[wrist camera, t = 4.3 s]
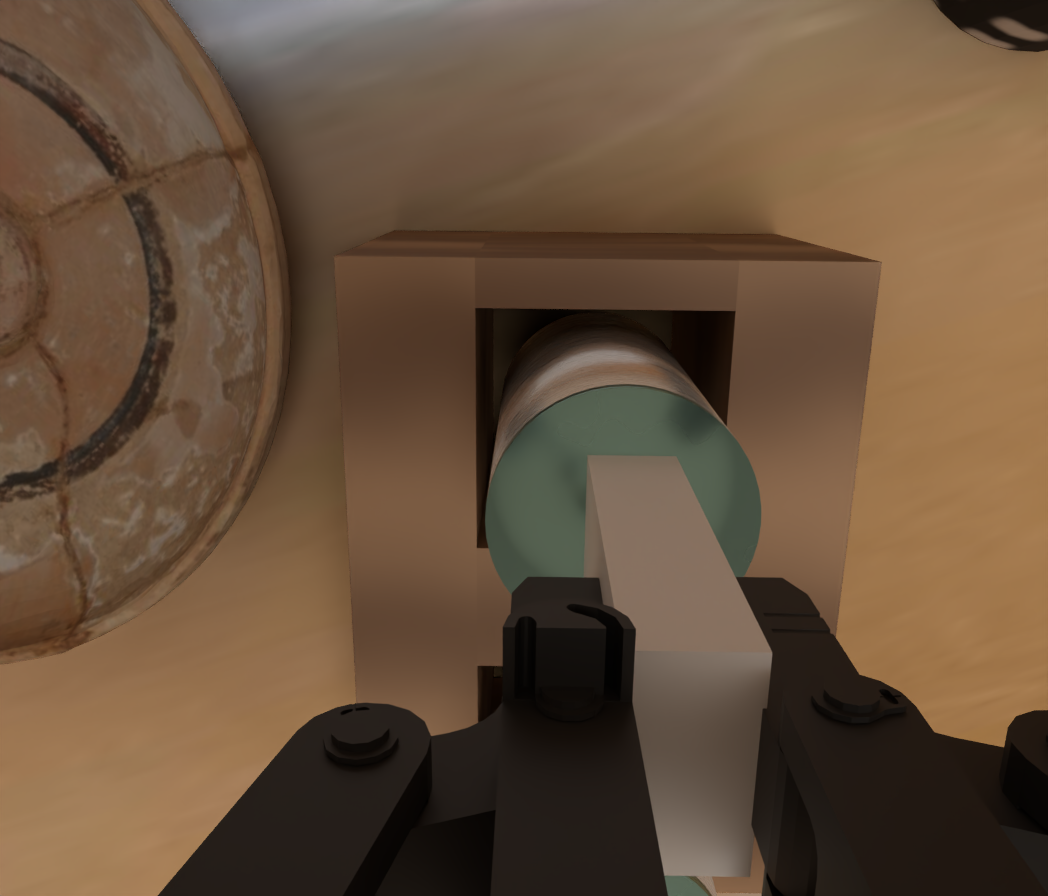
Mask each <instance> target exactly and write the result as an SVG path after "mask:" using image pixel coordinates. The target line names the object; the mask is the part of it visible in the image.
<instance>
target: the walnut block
mask: <svg viewBox="0 0 1048 896" xmlns="http://www.w3.org/2000/svg"><path fill="white" fill-rule="evenodd" d="M881 263H882V262H879V261H875V260H871V259H868V258H864V257H860V256H856V255H852V254H849V253H845V252H841V251H837V250H833V249H830V248H826V247H822V246H818V245H814V244H811V243H807V242H803V241H799V240H796V239H792V238H788V237H784V236H780V235H773V234H678V233H583V232H488V231H392V232H390V233H387V234H385V235H383V236H380V237H378V238H376V239H373V240H371V241H369V242H366V243H364V244H362V245H359V246H357V247H355V248H352V249H350V250H348V251H345V252H343V253H340V254H338V255H336V256H334V269H335V288H336V308H337V328H338V347H339V367H340V387H341V407H342V426H343V446H344V466H345V485H346V505H347V525H348V544H349V564H350V584H351V604H352V623H353V643H354V663H355V682H356V702H357V703H381V704H390V705H394V706H397V707H401V708H404V709H407V710H410V711H411V712H413V713H414V714H415V715H417V716H418V717H420V718H421V719H422V720H424V721H425V723H426V725H427V728H428V730H429V732H430V735H431V736H435V735H440V734H445V733H450V732H453V731H457V730H461V729H465V728H468V727H470V726H472V725H474V724H476V723H479V722H481V721H483V720H484V719H486V718H487V717H488V716H490V715H491V714H492V713H494V712H495V711H496V710H497V708H498V707H499V706H500V704H501V700H502V679H503V678H493V666H503V625H504V623H505V621H506V619H507V617H508V615H510V614H511V598H512V595H511V594H510V592H509V591H508V590H507V588H506V587H505V585H504V584H503V582H502V580H501V579H500V577H499V575H498V573H497V571H496V569H495V566H494V564H493V561H492V558H491V556H490V552H489V548H488V543H487V538H486V526H485V514H486V502H487V495H488V488H489V481H490V474H491V467H492V461H493V454H494V447H495V442H493V308H518V309H608V310H673V324H672V341H671V353H672V355H673V356H674V357H675V359H676V360H677V361H678V363H679V364H680V365H681V367H682V368H683V369H684V371H685V372H686V373H687V375H688V376H689V377H690V379H691V380H692V381H693V383H694V384H695V385H696V387H697V388H698V389H699V391H700V392H701V393H702V395H703V396H704V397H705V399H706V400H707V401H708V403H709V404H710V405H711V407H712V408H713V409H714V411H715V412H716V413H717V415H718V416H719V417H720V419H721V420H722V421H723V423H724V424H725V425H726V427H727V428H728V429H729V431H730V432H731V433H732V435H733V436H734V437H735V439H736V440H737V441H738V443H739V444H740V446H741V447H742V449H743V451H744V452H745V454H746V456H747V457H748V459H749V461H750V464H751V466H752V468H753V471H754V473H755V476H756V480H757V483H758V487H759V491H760V500H761V528H760V534H759V540H758V544H757V547H756V550H755V554H754V557H753V559H752V561H751V563H750V566H749V568H748V570H747V572H746V574H745V575H744V577H776V578H784V579H785V580H787V581H788V582H790V583H791V584H793V585H794V586H796V587H797V588H799V589H800V590H802V591H803V592H805V593H806V594H808V595H809V597H810V599H811V600H812V602H813V603H814V605H815V606H816V608H817V610H818V611H819V613H820V618H823V619H824V620H825V622H826V624H827V625H828V627H829V628H830V633H831V634H834V636H835V638H836V630H837V622H838V614H839V606H840V597H841V589H842V581H843V573H844V565H845V557H846V548H847V540H848V532H849V524H850V516H851V508H852V500H853V491H854V483H855V475H856V467H857V459H858V451H859V442H860V434H861V426H862V418H863V410H864V402H865V394H866V385H867V377H868V369H869V361H870V353H871V345H872V337H873V328H874V320H875V312H876V304H877V296H878V288H879V279H880V271H881ZM764 868H765V865H764V862H763V859H762V856H761V853H760V850H759V847H758V844H757V841H756V838H755V835H754V843H753V853H752V863H751V873H750V877H723V876H712V879H713V882H714V886H715V890H716V893H762V887H763V877H764Z"/></svg>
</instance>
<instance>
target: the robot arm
mask: <svg viewBox="0 0 1048 896" xmlns="http://www.w3.org/2000/svg"><path fill="white" fill-rule="evenodd" d="M754 835H755V838H756V841H757V844H758V847H759V850H760V853H761V856H762V859H763V862H764V865H765V868H764V877H763V887H762V896H1048V710H1036V711H1031V712H1028V713H1025V714H1022V715H1019V716H1016V717H1015V719H1014V720H1013V721H1012V723H1011V724H1010V725H1009V727H1008V731H1007V736H1006V741H1005V746H1004V747H999V746H994V745H989V744H984V743H979V742H974V741H969V740H964V739H959V738H954V737H950V736H946V735H942V734H938V733H935V732H934V731H933V730H932V729H931V727H930V726H929V724H928V723H927V721H926V720H925V719H924V717H923V716H922V714H921V713H920V712H919V710H918V709H917V707H916V706H915V705H914V704H913V703H912V702H911V701H910V700H909V699H908V698H907V697H906V696H905V695H903V694H902V693H901V692H900V691H898V690H896V689H894V688H892V687H890V686H888V685H887V684H885V683H883V682H881V681H878V680H875V679H872V678H868V677H865V676H862V675H859V673H858V672H857V670H856V669H855V667H854V666H853V664H852V662H851V661H850V659H849V658H848V656H847V655H846V653H845V652H844V650H843V648H842V647H841V645H840V644H839V642H838V641H837V639H836V638H835V636H834V634H831V633H830V628H829V627H828V625H827V624H826V622H825V620H824V619H823V618H820V613H819V611H818V610H817V608H816V606H815V605H814V603H813V602H812V600H811V599H810V597H809V595H808V594H806V593H805V592H803V591H802V590H800V589H799V588H797V587H796V586H794V585H793V584H791V583H790V582H788V581H787V580H785V579H784V578H776V577H735V575H734V573H733V571H732V569H731V567H730V565H729V563H728V561H727V559H726V557H725V555H724V553H723V551H722V549H721V547H720V545H719V543H718V541H717V539H716V536H715V534H714V532H713V530H712V528H711V526H710V524H709V522H708V520H707V518H706V516H705V514H704V512H703V510H702V508H701V506H700V504H699V502H698V500H697V498H696V496H695V494H694V492H693V490H692V487H691V485H690V483H689V481H688V479H687V477H686V475H685V473H684V471H683V469H682V467H681V465H680V463H679V461H678V459H677V457H676V456H621V455H587V483H586V515H585V547H584V577H527V578H526V579H525V580H524V581H523V582H522V583H521V584H520V585H519V586H518V587H517V588H516V589H515V590H514V591H513V592H512V598H511V614H510V615H508V617H507V619H506V621H505V623H504V625H503V679H502V703H501V704H500V706H499V707H498V708H497V710H496V711H495V712H494V713H492V714H491V715H490V716H488V717H487V718H486V719H484V720H483V721H481V722H479V723H476V724H474V725H472V726H470V727H468V728H465V729H461V730H457V731H453V732H450V733H445V734H440V735H435V736H431V735H430V732H429V730H428V728H427V725H426V723H425V721H424V720H422V719H421V718H420V717H418V716H417V715H415V714H414V713H413V712H411V711H410V710H407V709H404V708H401V707H397V706H394V705H390V704H381V703H355V704H353V705H352V704H350V705H345V706H341V707H337V708H334V709H332V710H330V711H327V712H325V713H323V714H320V715H318V716H315V717H314V718H312V719H311V720H310V721H309V722H307V723H306V724H305V725H304V726H303V727H301V728H300V729H299V730H298V731H297V732H296V733H295V734H294V735H293V736H292V738H291V739H290V740H289V741H288V742H287V743H286V745H285V746H284V747H283V748H282V749H281V751H280V752H279V753H278V754H277V755H276V756H275V758H274V759H273V760H272V761H271V762H270V764H269V765H268V766H267V767H266V768H265V769H264V771H263V772H262V773H261V774H260V775H259V777H258V778H257V779H256V780H255V781H254V782H253V784H252V785H251V786H250V787H249V788H248V790H247V791H246V792H245V793H244V794H243V795H242V797H241V798H240V799H239V800H238V801H237V803H236V804H235V805H234V806H233V807H232V808H231V810H230V811H229V812H228V813H227V814H226V816H225V817H224V818H223V819H222V820H221V821H220V823H219V824H218V825H217V826H216V827H215V829H214V830H213V831H212V832H211V833H210V834H209V836H208V837H207V838H206V839H205V840H204V842H203V843H202V844H201V845H200V846H199V847H198V849H197V850H196V851H195V852H194V853H193V855H192V856H191V857H190V858H189V859H188V860H187V862H186V863H185V864H184V865H183V866H182V868H181V869H180V870H179V871H178V872H177V873H176V875H175V876H174V877H173V878H172V879H171V881H170V882H169V883H168V884H167V885H166V886H165V888H164V889H163V890H162V891H161V892H160V894H159V895H158V896H668V892H667V887H666V881H665V876H664V875H669V876H723V877H750V873H751V863H752V853H753V843H754Z"/></svg>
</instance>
